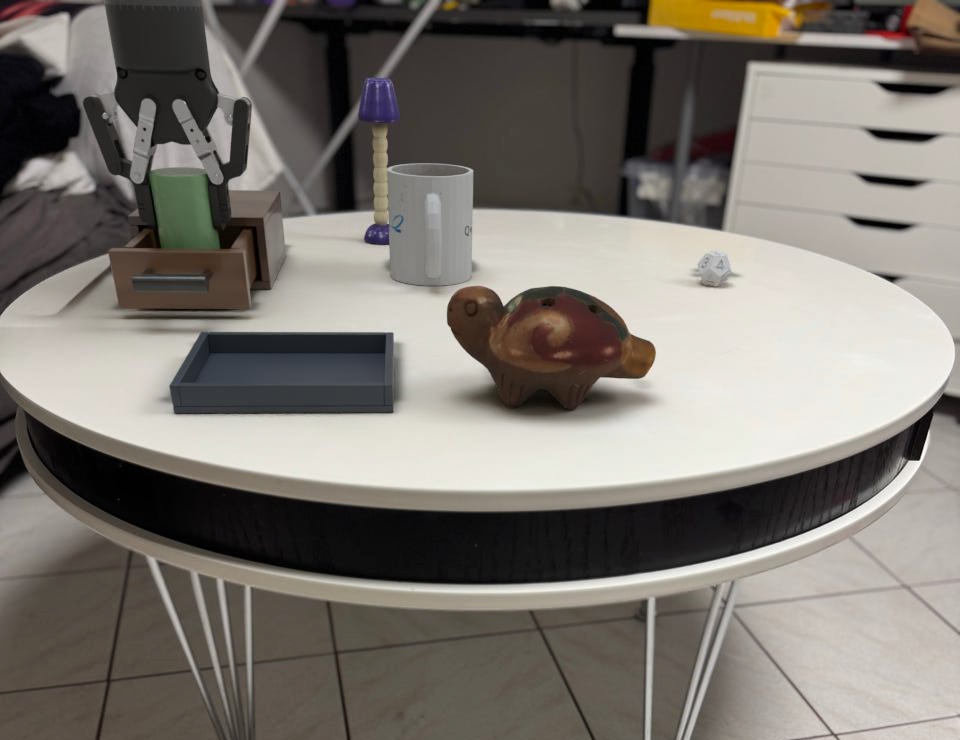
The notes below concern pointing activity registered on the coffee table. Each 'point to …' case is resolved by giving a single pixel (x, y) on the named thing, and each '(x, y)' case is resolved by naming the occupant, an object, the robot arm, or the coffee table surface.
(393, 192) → the mug
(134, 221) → the cabinet
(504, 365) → the decorative turtle
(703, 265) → the game die
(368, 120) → the toy lamp
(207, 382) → the tray
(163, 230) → the can
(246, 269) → the drawer
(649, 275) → the coffee table surface
